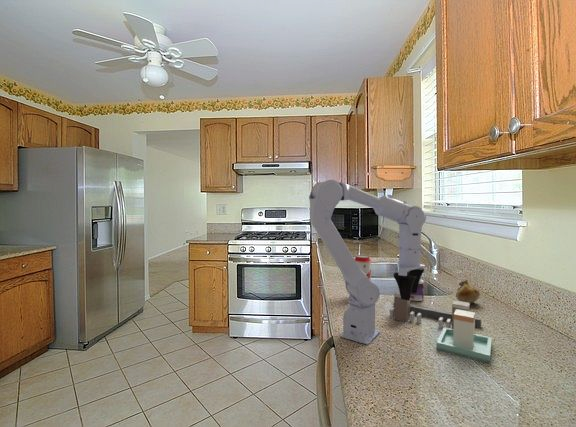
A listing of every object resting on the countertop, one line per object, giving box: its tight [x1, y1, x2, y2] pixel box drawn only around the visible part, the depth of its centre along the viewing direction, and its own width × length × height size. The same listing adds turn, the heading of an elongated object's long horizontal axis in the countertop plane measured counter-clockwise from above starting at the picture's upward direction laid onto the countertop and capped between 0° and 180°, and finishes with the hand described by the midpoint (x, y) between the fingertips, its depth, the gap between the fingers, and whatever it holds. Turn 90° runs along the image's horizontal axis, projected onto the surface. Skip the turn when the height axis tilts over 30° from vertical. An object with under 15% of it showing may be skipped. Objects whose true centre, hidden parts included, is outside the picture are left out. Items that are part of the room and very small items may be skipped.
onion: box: [455, 279, 481, 305], centre depth 108 cm, size 8×8×8 cm
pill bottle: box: [410, 274, 425, 302], centre depth 112 cm, size 5×5×10 cm
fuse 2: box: [451, 300, 471, 329], centre depth 85 cm, size 4×4×8 cm
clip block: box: [389, 302, 482, 329], centre depth 92 cm, size 9×25×2 cm, turn 54°
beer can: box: [354, 254, 372, 282], centre depth 114 cm, size 6×6×16 cm
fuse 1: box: [393, 290, 411, 323], centre depth 94 cm, size 4×4×8 cm
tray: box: [435, 326, 493, 364], centre depth 76 cm, size 11×11×2 cm
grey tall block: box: [453, 309, 476, 350], centre depth 75 cm, size 4×4×8 cm
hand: (409, 296), depth 85 cm, fingers open, 7 cm apart
